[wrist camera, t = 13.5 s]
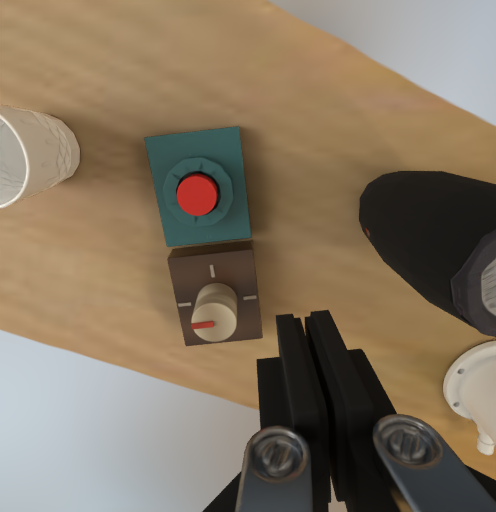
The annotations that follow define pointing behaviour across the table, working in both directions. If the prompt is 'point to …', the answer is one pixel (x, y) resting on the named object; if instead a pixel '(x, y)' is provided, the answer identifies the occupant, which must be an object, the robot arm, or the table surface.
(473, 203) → the portable speaker
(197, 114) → the table surface
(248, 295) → the dial panel
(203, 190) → the button
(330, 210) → the table surface
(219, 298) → the dial
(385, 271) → the table surface
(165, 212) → the button block
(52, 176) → the white cup
